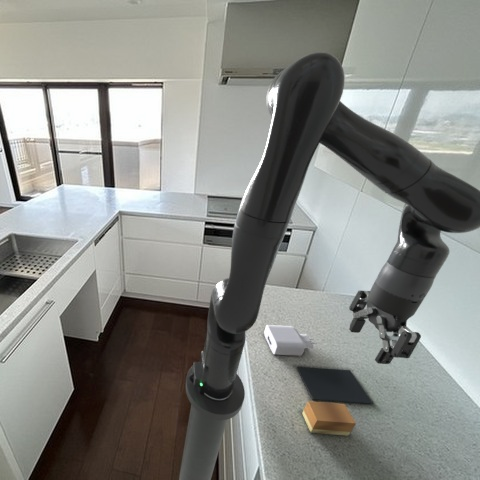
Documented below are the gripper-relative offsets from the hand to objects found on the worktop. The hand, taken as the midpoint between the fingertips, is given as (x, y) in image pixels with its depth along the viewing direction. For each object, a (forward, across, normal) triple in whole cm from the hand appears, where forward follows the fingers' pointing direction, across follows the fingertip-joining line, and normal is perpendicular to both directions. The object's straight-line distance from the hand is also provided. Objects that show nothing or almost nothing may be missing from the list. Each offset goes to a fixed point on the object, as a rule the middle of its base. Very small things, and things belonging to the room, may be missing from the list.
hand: (366, 345), depth 57 cm
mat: (+23, -7, +4) cm, 24 cm away
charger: (+23, -20, -2) cm, 31 cm away
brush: (+23, +4, -4) cm, 23 cm away
